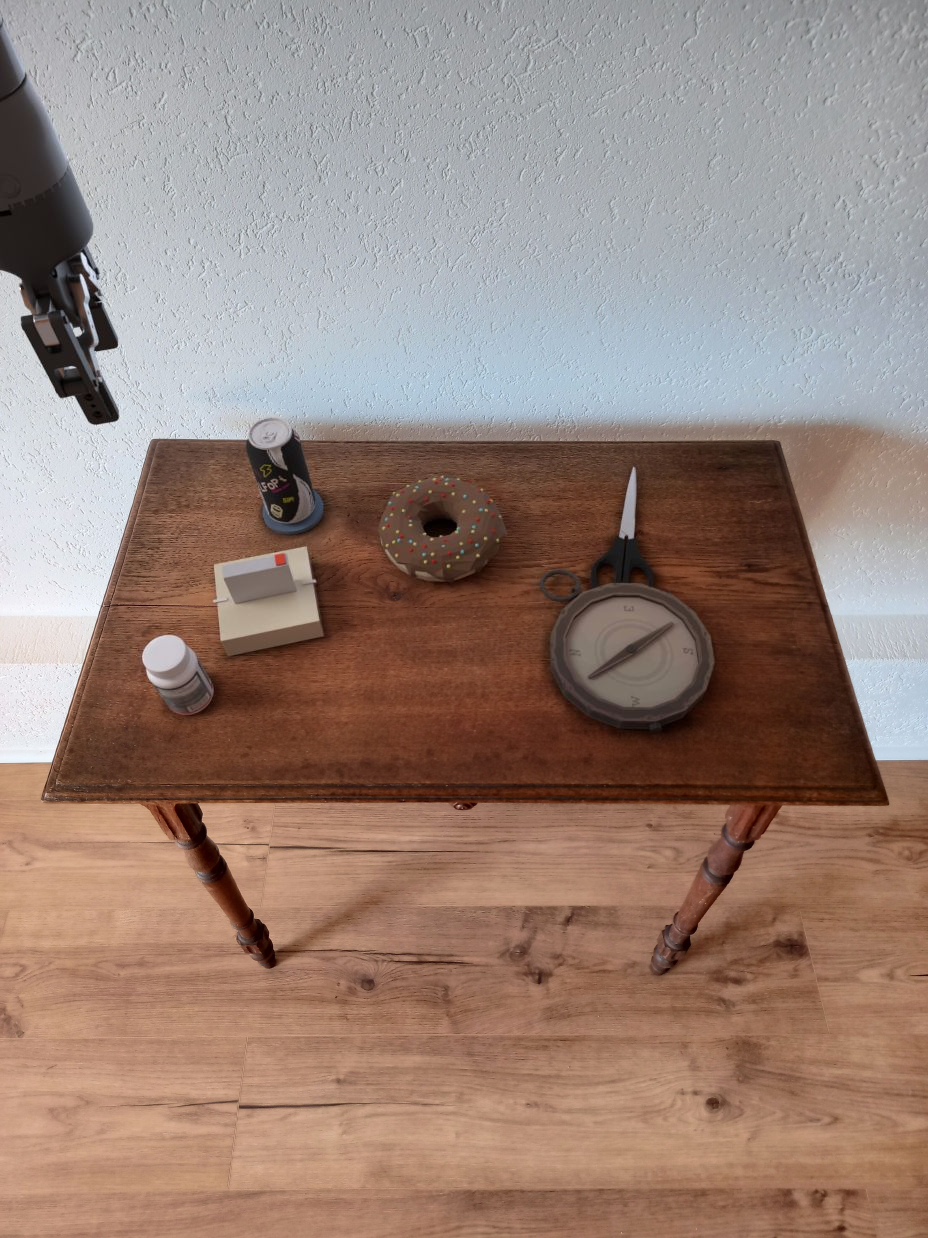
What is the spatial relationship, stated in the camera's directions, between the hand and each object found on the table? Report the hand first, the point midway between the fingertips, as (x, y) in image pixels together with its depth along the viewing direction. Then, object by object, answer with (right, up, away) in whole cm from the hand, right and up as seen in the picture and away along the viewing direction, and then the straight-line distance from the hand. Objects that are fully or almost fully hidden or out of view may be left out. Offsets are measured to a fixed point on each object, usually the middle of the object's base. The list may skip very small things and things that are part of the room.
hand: (105, 382), depth 62 cm
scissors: (+46, -9, +29) cm, 55 cm away
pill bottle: (0, -26, +19) cm, 32 cm away
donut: (+25, -10, +29) cm, 40 cm away
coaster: (+8, -6, +32) cm, 34 cm away
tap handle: (+7, -15, +22) cm, 28 cm away
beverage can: (+8, -5, +32) cm, 33 cm away
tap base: (+7, -17, +25) cm, 31 cm away
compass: (+44, -21, +21) cm, 53 cm away
